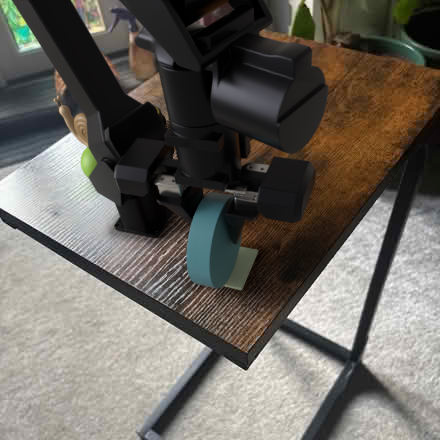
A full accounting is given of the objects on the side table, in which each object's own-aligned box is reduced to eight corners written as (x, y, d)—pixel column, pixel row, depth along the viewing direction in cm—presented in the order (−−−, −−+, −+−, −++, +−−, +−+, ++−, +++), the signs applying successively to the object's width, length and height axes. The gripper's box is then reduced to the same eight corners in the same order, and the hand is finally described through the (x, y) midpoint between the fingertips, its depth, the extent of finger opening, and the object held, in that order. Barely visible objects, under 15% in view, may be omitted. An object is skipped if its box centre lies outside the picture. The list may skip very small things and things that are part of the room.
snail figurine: (98, 162, 69) (68, 85, 60) (132, 171, 67) (107, 93, 57) (75, 184, 67) (40, 108, 57) (110, 195, 64) (80, 117, 55)
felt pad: (241, 290, 52) (241, 288, 51) (193, 279, 53) (192, 277, 53) (258, 251, 55) (258, 249, 54) (211, 242, 57) (211, 240, 56)
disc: (203, 294, 45) (220, 191, 43) (180, 288, 46) (196, 187, 44) (233, 284, 54) (248, 199, 53) (213, 279, 55) (228, 195, 53)
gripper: (335, 66, 40) (323, 203, 52) (144, 52, 45) (174, 179, 58) (302, 144, 34) (297, 277, 46) (87, 117, 39) (134, 242, 52)
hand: (221, 238), depth 50 cm, fingers open, 3 cm apart
